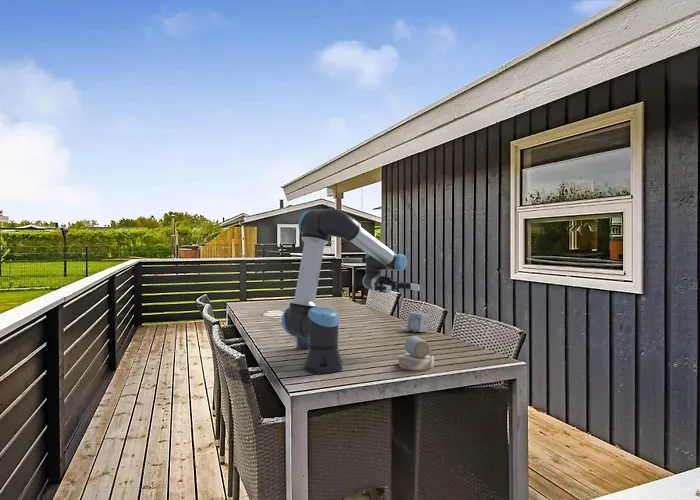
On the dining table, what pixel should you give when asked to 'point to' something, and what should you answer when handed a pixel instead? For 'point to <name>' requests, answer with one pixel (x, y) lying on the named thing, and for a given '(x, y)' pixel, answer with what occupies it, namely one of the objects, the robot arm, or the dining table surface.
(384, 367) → the dining table surface
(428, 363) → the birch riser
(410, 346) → the ceramic mug
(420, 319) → the incense holder
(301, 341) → the flask
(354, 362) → the dining table surface
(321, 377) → the dining table surface
